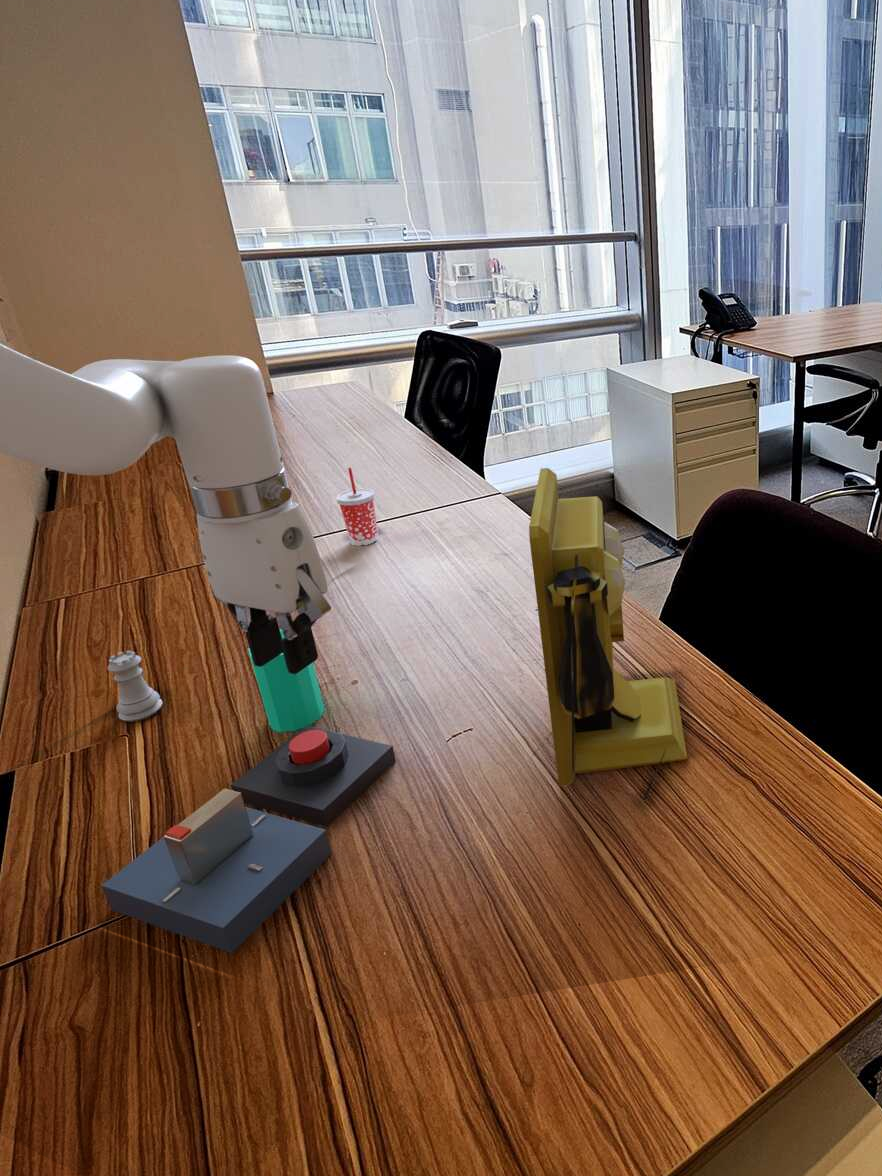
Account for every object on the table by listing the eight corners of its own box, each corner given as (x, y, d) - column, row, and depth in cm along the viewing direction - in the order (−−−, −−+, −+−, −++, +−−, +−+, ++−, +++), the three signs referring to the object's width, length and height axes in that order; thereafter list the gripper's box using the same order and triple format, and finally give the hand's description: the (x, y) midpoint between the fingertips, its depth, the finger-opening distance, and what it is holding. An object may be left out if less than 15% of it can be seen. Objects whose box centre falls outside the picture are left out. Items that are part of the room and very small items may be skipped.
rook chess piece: (163, 715, 94) (144, 659, 91) (118, 728, 92) (97, 671, 89) (163, 696, 98) (145, 642, 95) (120, 709, 95) (99, 653, 92)
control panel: (111, 910, 69) (100, 884, 68) (221, 820, 79) (213, 796, 77) (232, 953, 65) (222, 926, 64) (332, 853, 75) (325, 828, 73)
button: (284, 761, 81) (280, 748, 81) (311, 739, 84) (307, 726, 84) (311, 768, 80) (307, 755, 80) (337, 746, 83) (334, 733, 83)
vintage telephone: (697, 825, 77) (688, 556, 66) (555, 844, 75) (520, 569, 64) (670, 653, 106) (660, 444, 95) (566, 663, 104) (543, 451, 93)
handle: (238, 829, 73) (223, 785, 71) (254, 834, 73) (240, 790, 71) (178, 879, 68) (161, 833, 66) (195, 885, 68) (179, 839, 66)
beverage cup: (365, 549, 137) (350, 475, 132) (338, 545, 139) (322, 471, 134) (390, 536, 142) (376, 464, 137) (363, 531, 144) (348, 460, 139)
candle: (309, 695, 98) (287, 612, 93) (334, 712, 95) (313, 627, 90) (259, 720, 93) (234, 634, 89) (284, 739, 90) (259, 651, 85)
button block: (235, 801, 81) (225, 770, 80) (310, 740, 90) (303, 712, 88) (327, 827, 78) (319, 796, 76) (396, 761, 86) (390, 732, 85)
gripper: (346, 488, 72) (381, 656, 79) (210, 471, 77) (255, 630, 84) (279, 519, 65) (324, 699, 72) (135, 498, 70) (190, 669, 77)
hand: (286, 661), depth 78 cm, fingers open, 3 cm apart
